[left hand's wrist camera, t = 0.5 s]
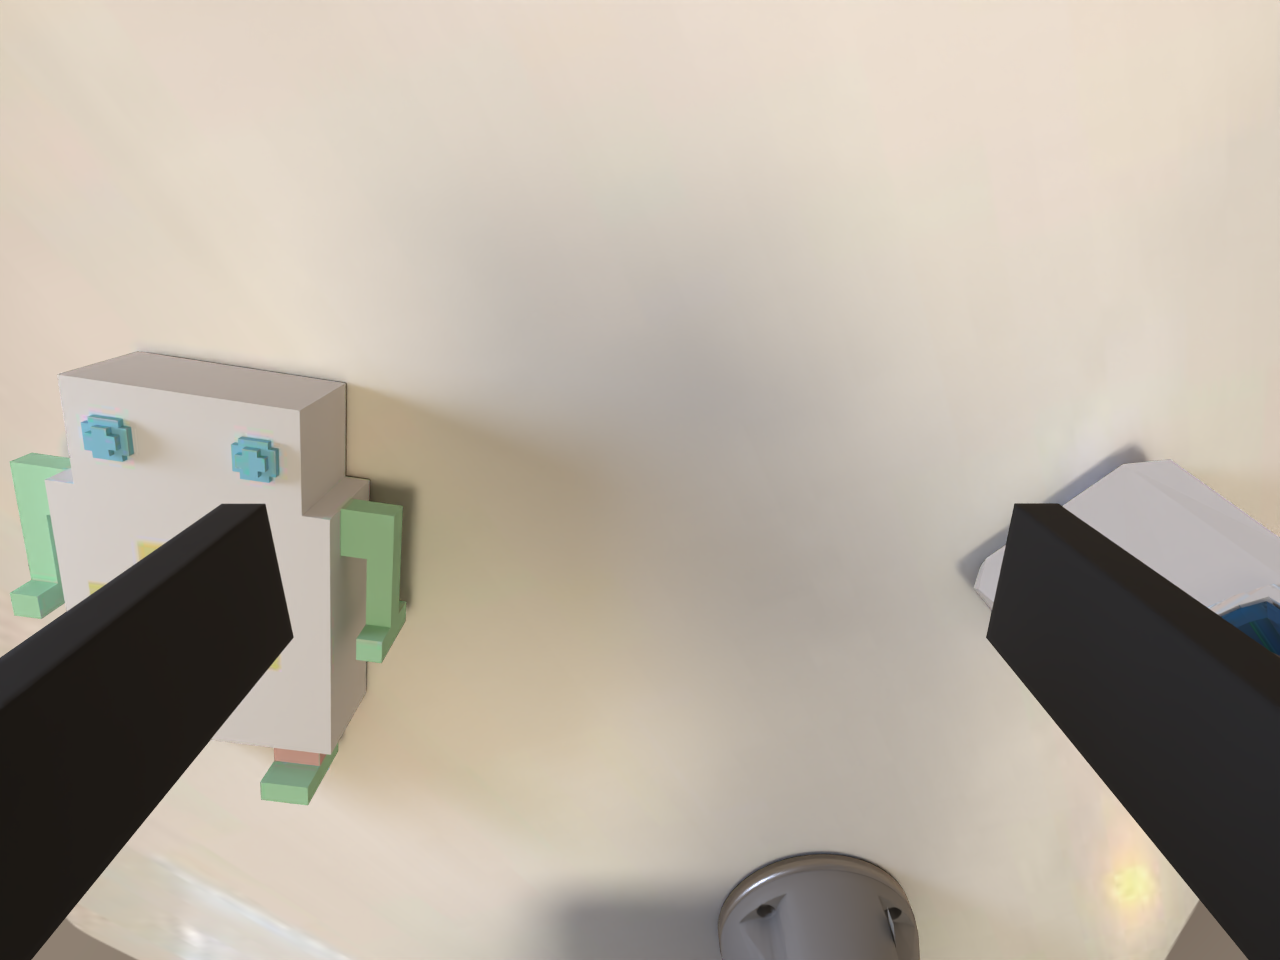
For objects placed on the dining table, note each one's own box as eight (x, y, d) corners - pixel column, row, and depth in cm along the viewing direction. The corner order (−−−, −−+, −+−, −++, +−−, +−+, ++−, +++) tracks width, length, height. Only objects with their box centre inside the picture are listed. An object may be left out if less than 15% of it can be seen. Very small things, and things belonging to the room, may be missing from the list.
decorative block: (-51, 363, 32) (383, 428, 33) (57, 338, 38) (422, 394, 39) (36, 783, 42) (373, 823, 43) (112, 711, 48) (406, 747, 49)
